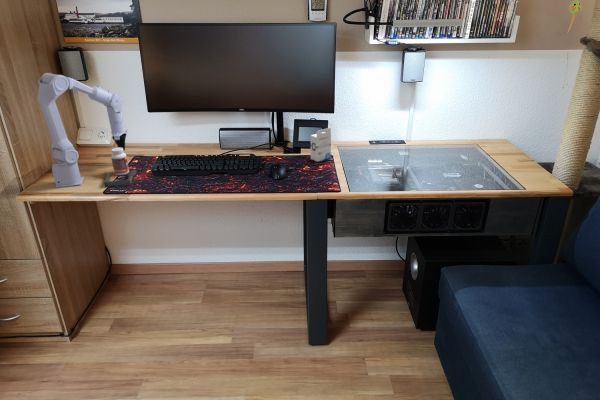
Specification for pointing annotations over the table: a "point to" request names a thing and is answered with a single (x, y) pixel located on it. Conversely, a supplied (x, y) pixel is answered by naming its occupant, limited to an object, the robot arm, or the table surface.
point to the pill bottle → (119, 161)
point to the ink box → (321, 145)
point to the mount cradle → (118, 182)
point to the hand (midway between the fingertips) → (122, 150)
